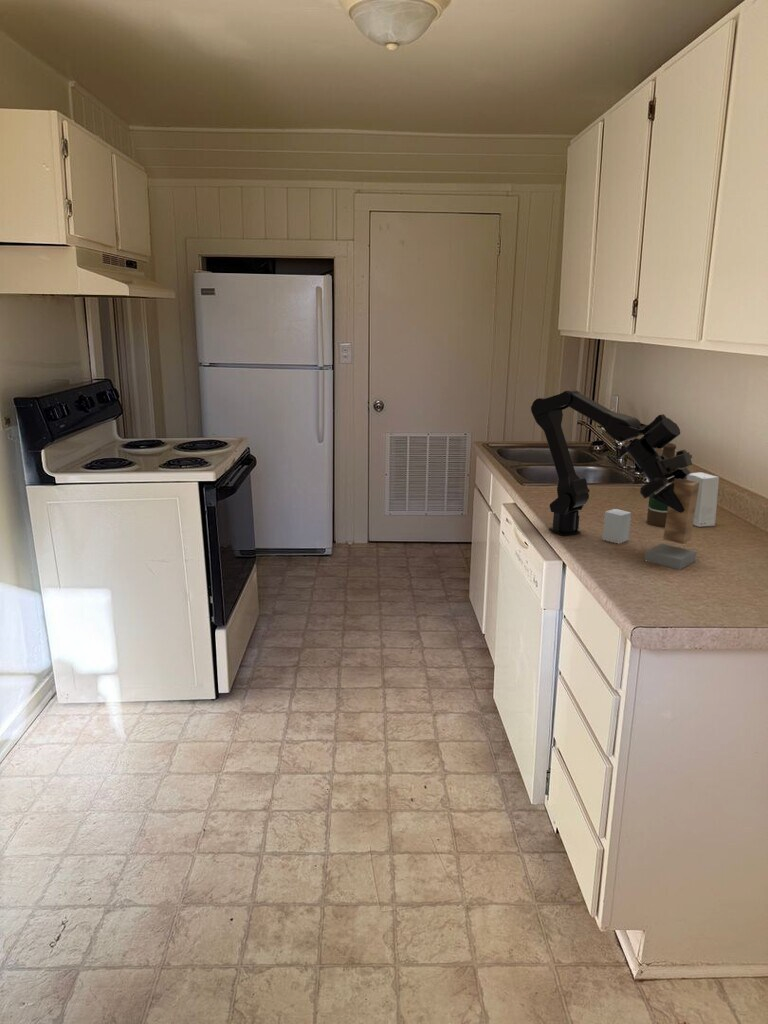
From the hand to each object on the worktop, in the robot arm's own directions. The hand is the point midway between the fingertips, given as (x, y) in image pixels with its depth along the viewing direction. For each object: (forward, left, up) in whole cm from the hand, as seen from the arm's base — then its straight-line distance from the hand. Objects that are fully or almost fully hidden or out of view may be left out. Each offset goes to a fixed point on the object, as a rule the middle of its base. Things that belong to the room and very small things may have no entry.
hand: (686, 509), depth 175 cm
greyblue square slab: (-3, +1, -14) cm, 14 cm away
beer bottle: (+18, +29, -14) cm, 36 cm away
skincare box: (+29, +26, -14) cm, 41 cm away
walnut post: (-1, +1, -8) cm, 8 cm away
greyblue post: (-5, +20, -13) cm, 24 cm away
